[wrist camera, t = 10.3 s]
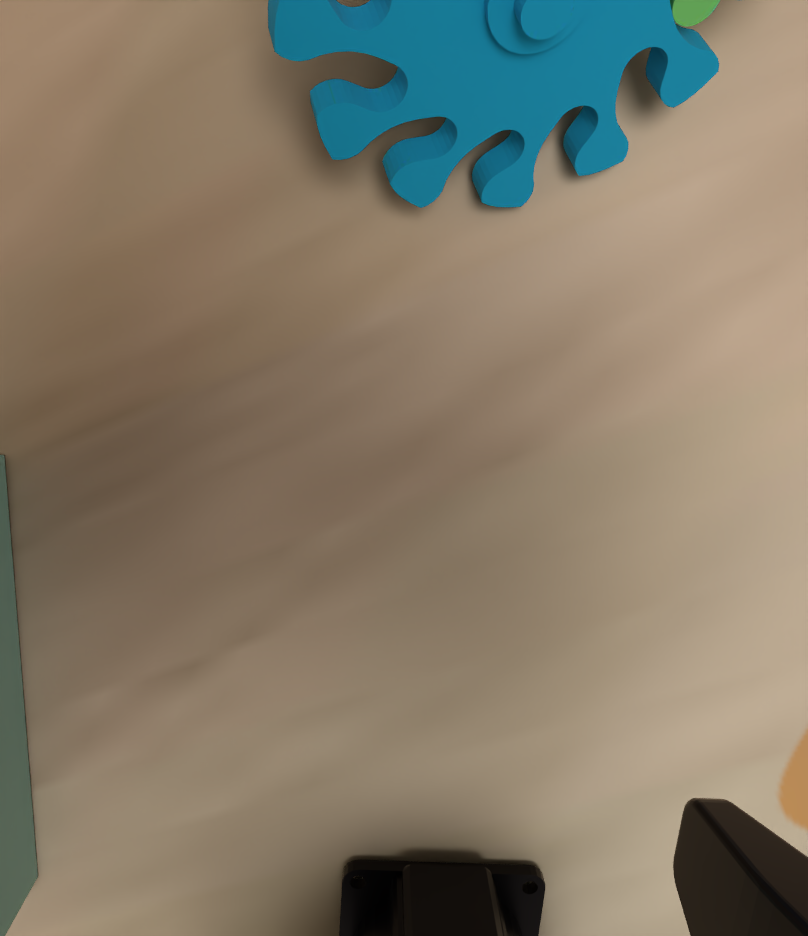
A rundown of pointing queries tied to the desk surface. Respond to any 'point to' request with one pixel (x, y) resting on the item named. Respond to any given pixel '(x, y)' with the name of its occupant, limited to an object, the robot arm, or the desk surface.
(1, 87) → the desk surface
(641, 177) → the desk surface
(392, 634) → the desk surface
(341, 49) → the gear
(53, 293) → the desk surface
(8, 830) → the plate
